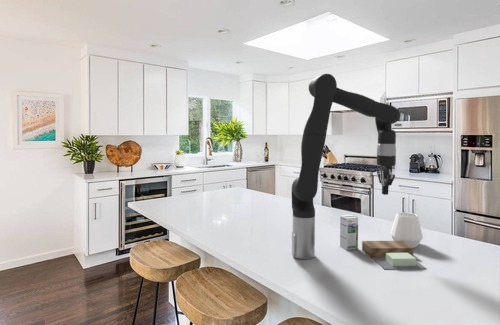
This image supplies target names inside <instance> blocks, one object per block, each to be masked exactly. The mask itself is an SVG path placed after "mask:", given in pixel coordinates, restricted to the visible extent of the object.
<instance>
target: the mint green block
mask: <svg viewBox="0 0 500 325" xmlns="http://www.w3.org/2000/svg"><path fill="white" fill-rule="evenodd" d="M386 261H387V262H388V263H389V264H390V265H391V266H416V261H417V258H416V257H414V255H413V256H412V255H410V254H409V253H386Z"/></svg>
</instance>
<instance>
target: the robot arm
mask: <svg viewBox="0 0 500 325" xmlns="http://www.w3.org/2000/svg"><path fill="white" fill-rule="evenodd" d="M337 86H338V84H337V80H336V78H335V77H334V76H333V74H330V73H323V74H320V75H317V76H316V77H314V78H313V79H311V80H310V82H309V84H308V91H309V94H310V95H311V96H312V97H313V104H312V109H311V112H310V114H309V117H308V119H307V120H306V123H305V125H304V128H303V133H302V138H301V147H300V153H301V155H300V156H301V167H300V171H299V176H298V177H297V178H296V179H294V180H293V182H292V184H291V210H292V231H291V254H292V258H294V259H300V260H310V259H311V260H312V259H313V258H315V256H316V255H315V254H316V253H315V251H316V250H315V248H316V247H315V246H316V240H315V238H316V233H315V232H316V231H315V230H316V209H315V204H314V198H315V197H316V196H317V193H318V186H319V174H320V173H319V172H320V167H321V166H320V165H321V163H322V162H321V161H322V158H323V154H324V150H325V149H324V147H325V143H326V139H327V134H328V133H327V131H328V126H329V120H330V112H331V109H332V106H333V103H334V104H337V105H339V106H342V107H344V108H347V109H350V110H352V111H355V113H358V114H361V115H364V116H366V117H370V118H375V119H374V120H375V128H376V131H377V147H376V166H379V170H378V171H377V172H376V174H377V178H378V181H379V184H380V185H381V194H382V195H383V196H384V195H385V196H386V195H389V188H390V186H392V184H393V182H394V180H395V177H396V175H395V174H393V167H395V166H396V163H397V146H396V143H397V142H396V141H397V137H396V136H397V132H396V131H395V130H393V129H392V125H393V124H395V123H397V122H398V121H399V120H400V118H401V112H400V110H399V109H398V108H397V107H395V106H393V105H390V104H388V103H385V102H384V103H383V102H380V101H376V100H374V99H373V98H370V97H367V96H365V95H363V94H360V93H357V92H352V91H348V90H345V89H342V88H339V87H337ZM391 124H392V125H391Z"/></svg>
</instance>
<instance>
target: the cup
mask: <svg viewBox="0 0 500 325" xmlns="http://www.w3.org/2000/svg"><path fill="white" fill-rule="evenodd" d="M390 236H391V238H392V241H404V242H406V243H407V244H409V245H410V246H411V247H413V248H416V247H418V245H419V244H420V242H421V241H422V240H423V232H422V228H421V223H420V220H419V216H418V215H417V214H416V213H412V212H406V211H405V212H403V211H402V212H398V213H396V215H395V217H394V221H393V223H392V227H391V230H390Z"/></svg>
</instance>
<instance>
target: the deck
mask: <svg viewBox="0 0 500 325" xmlns="http://www.w3.org/2000/svg"><path fill="white" fill-rule="evenodd" d="M414 248H415V247H411V246H410V245H409V244H407V243H406V242H404V241H394V240H362V242H361V250H362V251H363V253H365V254H366V256H368V257H369V258H371V259H373V257H386V253H409V254H410V255H412V256H413V257H414Z"/></svg>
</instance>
